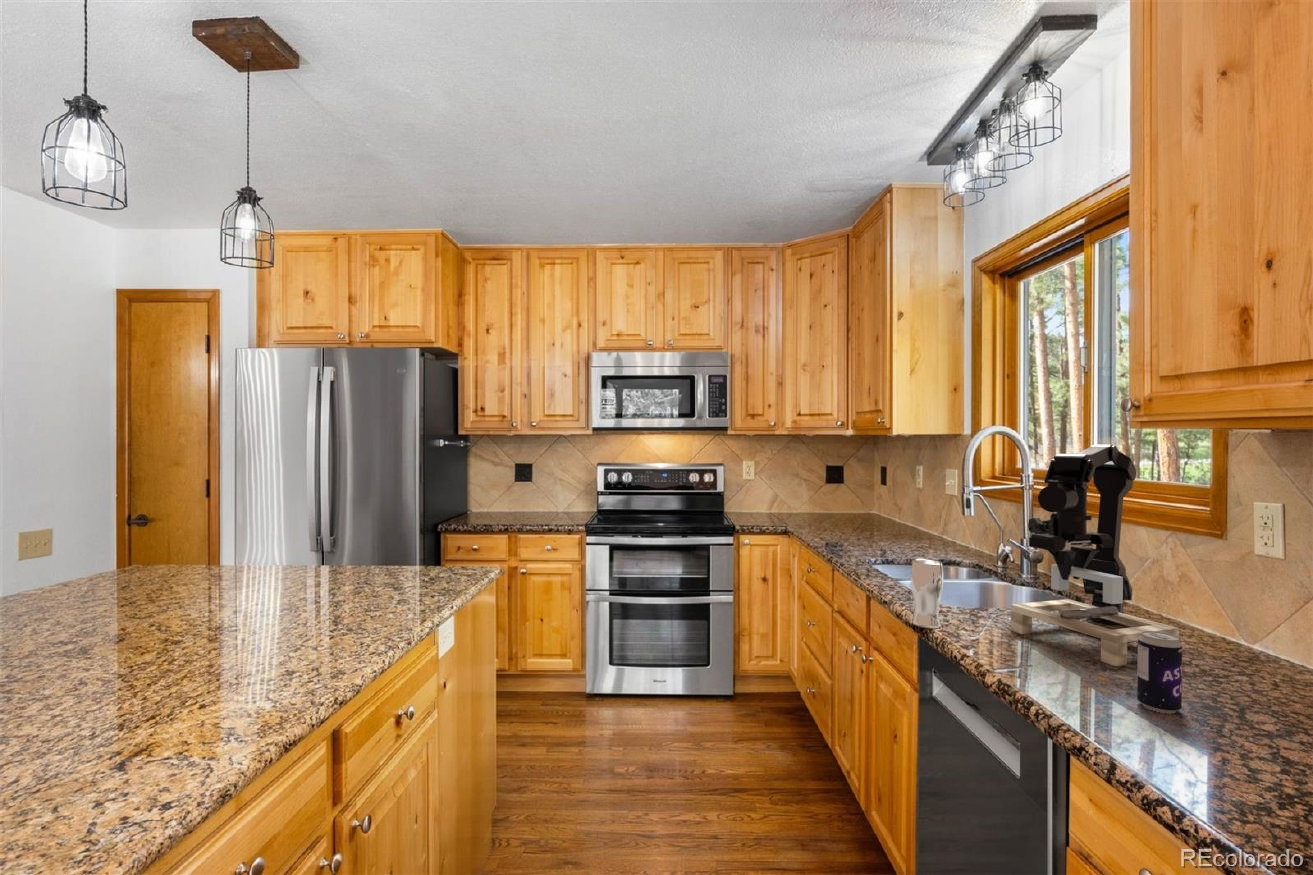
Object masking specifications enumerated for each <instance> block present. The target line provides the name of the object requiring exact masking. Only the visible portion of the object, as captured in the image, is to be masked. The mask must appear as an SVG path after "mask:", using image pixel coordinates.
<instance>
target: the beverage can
mask: <svg viewBox="0 0 1313 875" xmlns="http://www.w3.org/2000/svg"><path fill="white" fill-rule="evenodd" d="M1136 688H1137V692H1136V695H1137V696H1136V699H1137V700H1138V701H1139V703H1140V704H1142V706H1143V707H1144V708H1145V709H1148V710H1149V711H1152V710H1153V712H1155V711H1156V713H1159V712H1160V713H1159V714H1165V713H1166V714H1167V715H1171V714H1172V713H1173V714H1175V713H1176V712H1178V711H1180V710H1181V709H1182V705H1183V704H1182V701H1183V700H1182V695H1183V694H1182V693H1183V692H1182V691H1183V646H1182V644H1181V642H1180V638H1178V637H1177V636H1174V635H1171V634H1167V633H1163V632H1156V631H1142V632H1141V636H1140V637H1139V639H1138V641H1137V687H1136Z"/></svg>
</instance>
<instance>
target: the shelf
mask: <svg viewBox="0 0 1313 875" xmlns="http://www.w3.org/2000/svg"><path fill="white" fill-rule="evenodd" d="M1088 608H1098V607H1096V606H1092V604H1088V603H1084V602H1081V601H1076V600H1073V599H1070V598H1067V599H1054V600H1043V601H1035V602H1034V601H1033V602H1021V603H1013V604H1011V605H1010V631H1011V632H1014V633H1016V634H1021V635H1026V634H1033V618H1034V619H1036V620H1039V621H1043V622H1046V623H1049V624H1051V625H1052V624H1053V625H1056V626H1058V627H1062V628H1066V629H1069V630H1072V631H1075V632H1078V633H1081V634H1085V635H1088V636H1092V637H1095V638H1098V639H1100V662H1102V663H1105V664H1108V665H1112V666H1114V667H1120V666H1127V665H1128V642H1129V643H1130V642H1131V643H1132V642H1136V641H1137V642H1138V639H1139V637H1140V636H1141V632H1142V631H1156V632H1163V633H1167V634H1171V635H1174V636H1177V637H1178V638H1179V637H1180V634H1179V633H1180V627H1176V626H1172V625H1169V624H1165V623H1161V622H1157V621H1153V620H1150V619H1145V618H1142V617H1138V616H1135V615H1131V614H1127V613H1124V612H1123V613H1118V614H1113V615H1112V616H1105V617H1099V618H1103V619H1107V620H1110V621H1114V622H1117V623H1121V624H1120V625H1125V626H1129V627H1126V628H1125V627H1124V628H1117V629H1115V628H1114V629H1110V628H1107V627H1103V626H1100V625H1096V624H1093V623H1089V622H1085V621H1084V620H1081V619H1077V620H1076V619H1066V618H1062V617H1060V613H1061V612H1062V611H1068V610H1078V609H1088ZM1055 612H1058V613H1055ZM1179 639H1180V638H1179Z"/></svg>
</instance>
